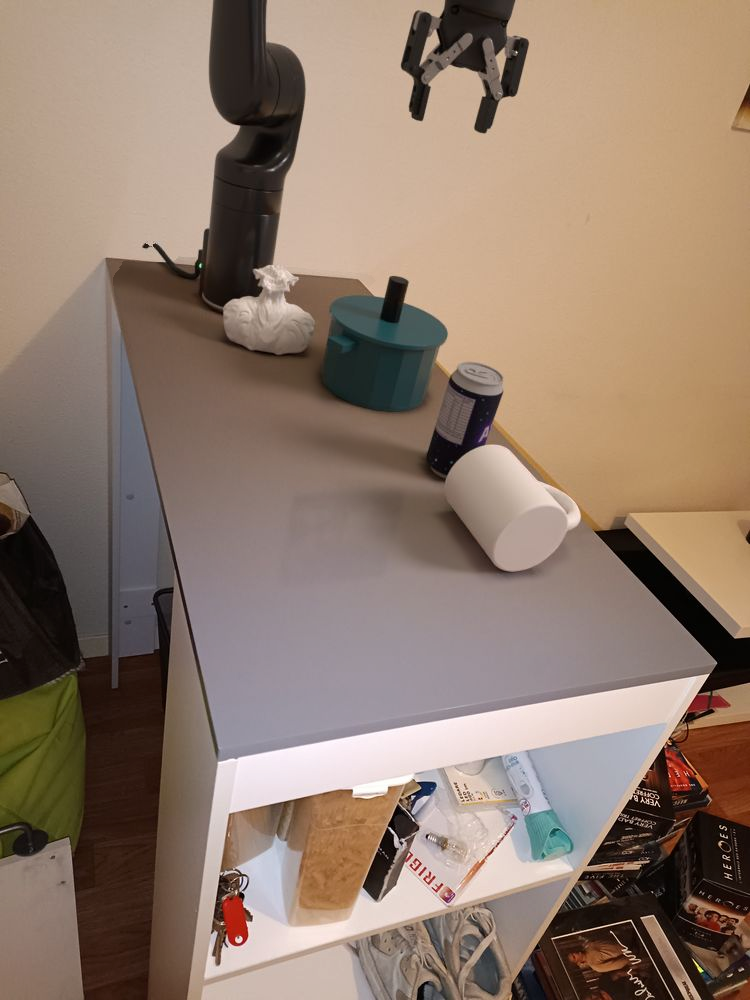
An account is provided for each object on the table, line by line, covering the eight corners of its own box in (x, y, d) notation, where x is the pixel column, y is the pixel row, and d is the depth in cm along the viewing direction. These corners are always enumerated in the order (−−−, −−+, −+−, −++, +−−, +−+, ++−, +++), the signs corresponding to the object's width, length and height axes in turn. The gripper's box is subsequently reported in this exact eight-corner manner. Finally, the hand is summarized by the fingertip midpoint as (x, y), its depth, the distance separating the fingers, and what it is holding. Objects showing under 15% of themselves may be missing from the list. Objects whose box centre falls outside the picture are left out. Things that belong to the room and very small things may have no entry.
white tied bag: (307, 366, 101) (318, 286, 101) (313, 353, 93) (325, 267, 94) (218, 351, 98) (230, 269, 99) (217, 336, 91) (230, 248, 92)
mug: (480, 576, 67) (508, 506, 63) (434, 510, 74) (456, 443, 70) (583, 565, 72) (616, 500, 68) (531, 505, 79) (557, 442, 75)
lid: (303, 313, 89) (312, 262, 85) (379, 298, 99) (390, 252, 96) (396, 364, 82) (409, 312, 79) (467, 342, 93) (482, 295, 89)
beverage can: (471, 490, 79) (506, 391, 73) (420, 475, 79) (450, 375, 73) (475, 464, 84) (508, 369, 77) (427, 450, 84) (456, 354, 78)
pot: (284, 377, 92) (294, 312, 87) (379, 350, 105) (393, 293, 100) (365, 427, 86) (381, 360, 81) (455, 392, 99) (473, 333, 94)
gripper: (528, -24, 84) (486, 129, 93) (417, -58, 79) (383, 108, 88) (562, -19, 79) (513, 143, 88) (444, -56, 73) (405, 122, 82)
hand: (448, 125), depth 88 cm, fingers open, 8 cm apart
